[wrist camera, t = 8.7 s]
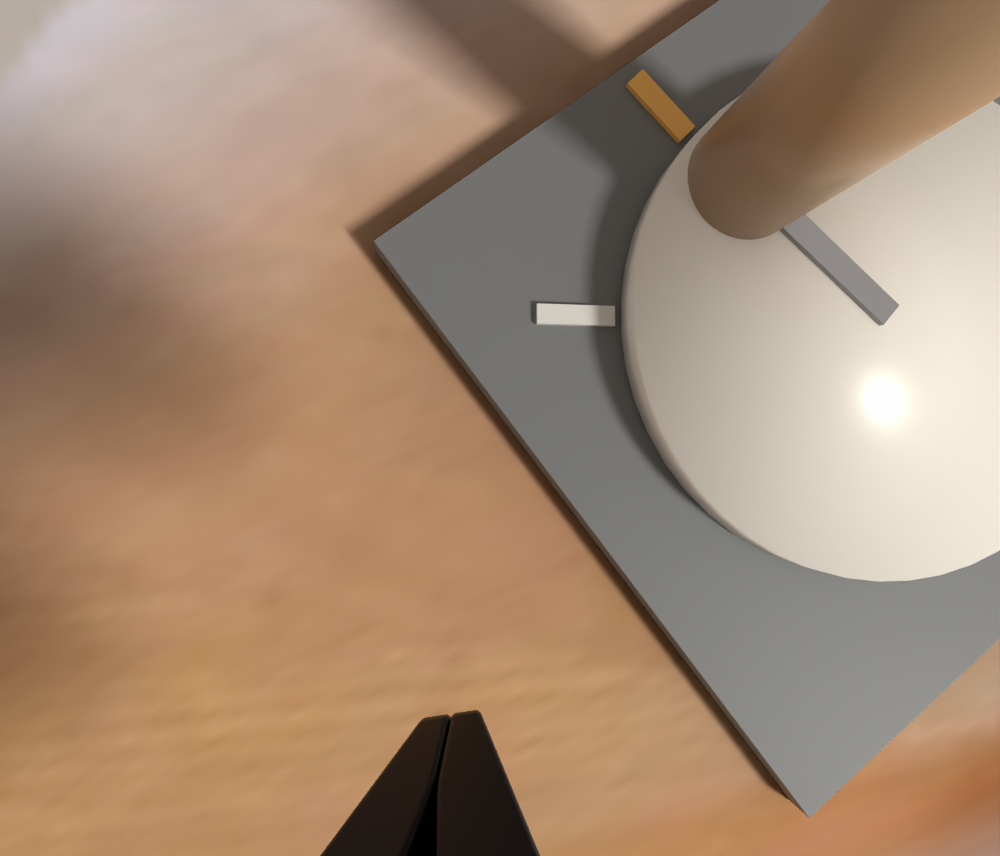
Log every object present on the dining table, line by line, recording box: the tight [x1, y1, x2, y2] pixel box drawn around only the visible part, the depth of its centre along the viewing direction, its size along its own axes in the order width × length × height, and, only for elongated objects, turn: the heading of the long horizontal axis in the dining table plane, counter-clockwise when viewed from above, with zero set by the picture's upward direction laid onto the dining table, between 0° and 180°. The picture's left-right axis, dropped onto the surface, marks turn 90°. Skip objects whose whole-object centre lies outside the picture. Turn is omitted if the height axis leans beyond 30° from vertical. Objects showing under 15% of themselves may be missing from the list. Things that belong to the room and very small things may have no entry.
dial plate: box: [374, 0, 1000, 818], centre depth 22 cm, size 22×22×1 cm
